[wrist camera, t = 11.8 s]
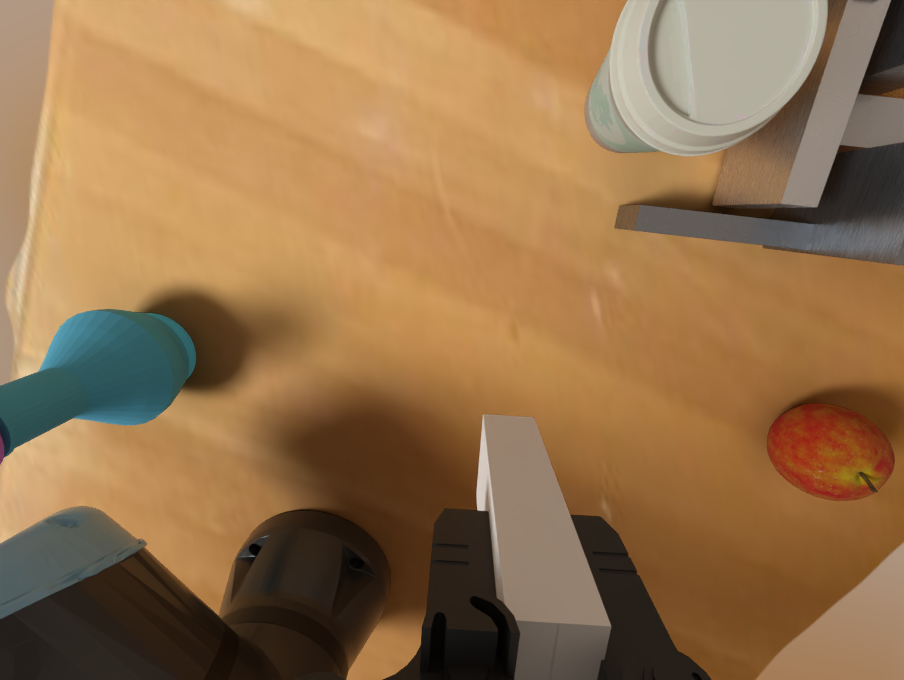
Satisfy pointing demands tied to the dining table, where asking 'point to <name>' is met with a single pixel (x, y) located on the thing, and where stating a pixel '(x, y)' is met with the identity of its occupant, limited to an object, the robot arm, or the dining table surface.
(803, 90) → the grey rectangular block
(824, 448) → the fruit
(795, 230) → the gauge base
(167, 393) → the perfume bottle
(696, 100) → the coffee cup
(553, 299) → the dining table surface
